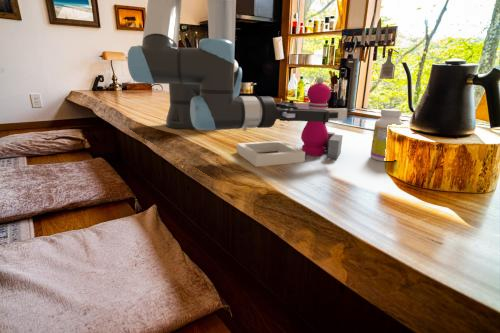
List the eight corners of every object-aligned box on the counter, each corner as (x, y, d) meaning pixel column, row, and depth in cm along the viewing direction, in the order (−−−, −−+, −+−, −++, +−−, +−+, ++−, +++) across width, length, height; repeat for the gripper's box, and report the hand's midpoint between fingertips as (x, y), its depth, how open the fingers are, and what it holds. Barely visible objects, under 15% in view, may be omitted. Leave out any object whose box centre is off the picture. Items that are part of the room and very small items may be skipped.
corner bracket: (300, 147, 89) (301, 130, 88) (321, 145, 92) (323, 129, 91) (331, 160, 76) (333, 141, 75) (354, 158, 79) (356, 139, 78)
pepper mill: (326, 157, 79) (335, 77, 73) (298, 154, 81) (305, 76, 75) (326, 150, 86) (334, 77, 80) (300, 148, 87) (307, 76, 81)
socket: (236, 152, 81) (236, 143, 80) (279, 149, 86) (280, 140, 85) (255, 166, 70) (256, 156, 69) (304, 161, 74) (305, 152, 74)
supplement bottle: (376, 154, 84) (383, 107, 80) (401, 159, 80) (410, 110, 76) (365, 158, 79) (372, 109, 76) (391, 164, 75) (400, 111, 71)
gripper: (237, 119, 85) (302, 117, 93) (279, 138, 63) (359, 133, 71) (238, 92, 83) (304, 92, 90) (281, 101, 61) (364, 100, 69)
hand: (329, 110), depth 81 cm, fingers open, 13 cm apart
